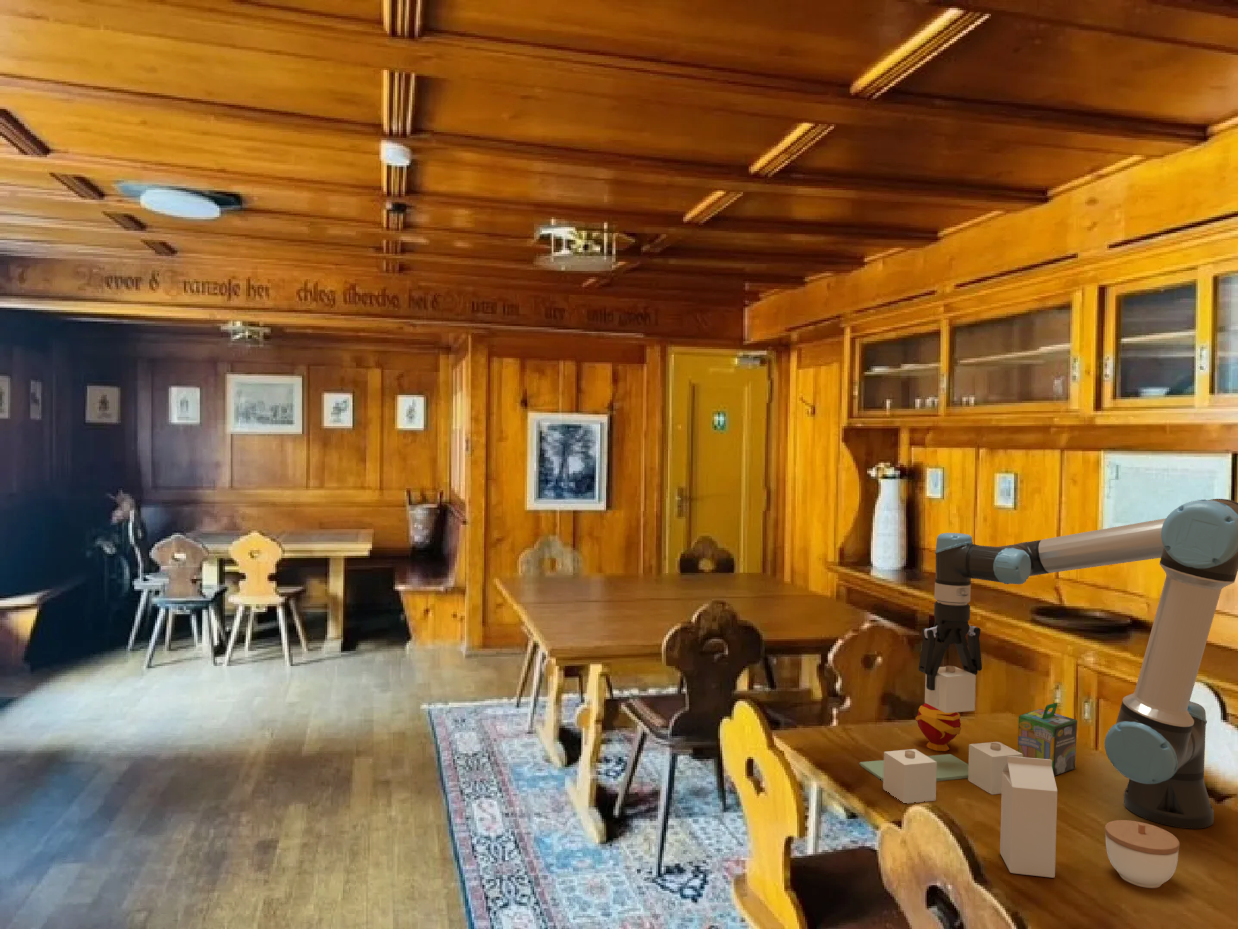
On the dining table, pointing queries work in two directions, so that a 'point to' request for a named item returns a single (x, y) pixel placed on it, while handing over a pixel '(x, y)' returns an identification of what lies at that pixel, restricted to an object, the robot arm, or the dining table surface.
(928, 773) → the cloche left
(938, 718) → the potion bottle
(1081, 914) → the dining table surface
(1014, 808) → the milk carton
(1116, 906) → the dining table surface
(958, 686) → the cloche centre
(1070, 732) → the chalk box
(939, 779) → the felt mat
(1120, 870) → the lidded jar
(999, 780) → the cloche right
